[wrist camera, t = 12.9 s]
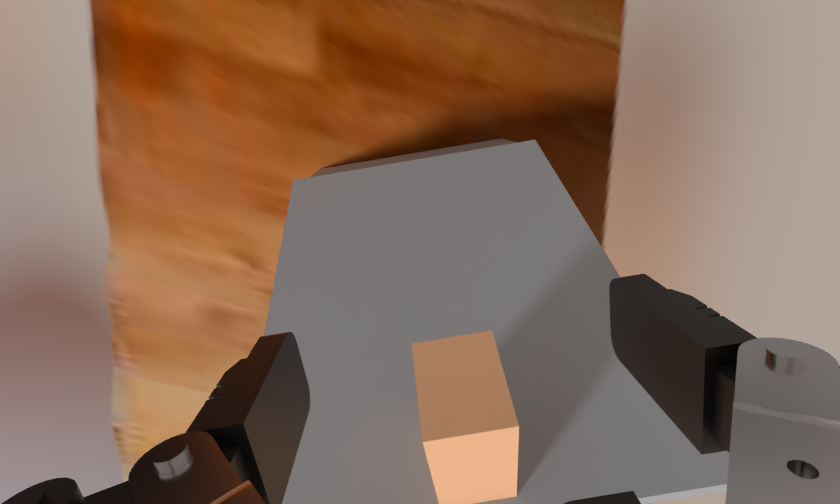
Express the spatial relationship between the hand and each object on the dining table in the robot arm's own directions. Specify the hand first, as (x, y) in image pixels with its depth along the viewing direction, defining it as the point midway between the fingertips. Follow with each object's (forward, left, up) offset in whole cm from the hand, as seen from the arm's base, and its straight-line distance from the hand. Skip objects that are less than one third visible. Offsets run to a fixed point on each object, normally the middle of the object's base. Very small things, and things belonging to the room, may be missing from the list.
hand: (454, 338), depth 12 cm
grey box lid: (+3, 0, -10) cm, 11 cm away
